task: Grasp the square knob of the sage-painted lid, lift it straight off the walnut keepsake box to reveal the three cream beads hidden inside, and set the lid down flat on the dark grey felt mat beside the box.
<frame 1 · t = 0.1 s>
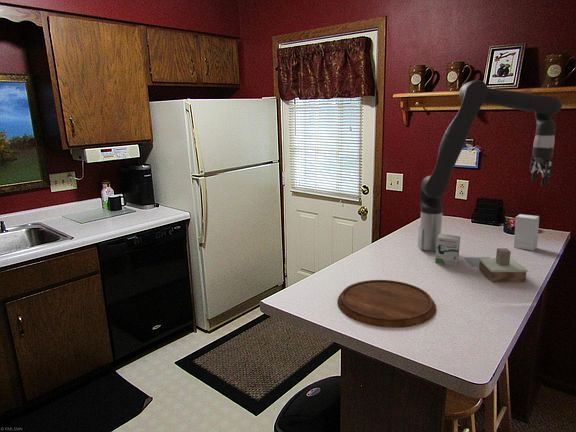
hand: (538, 183, 180), 29 cm above the kitchen island, fingers open, 8 cm apart
bead a: (496, 278, 155), point 1 cm above the kitchen island, touching keepsake box
bead c: (499, 272, 159), point 1 cm above the kitchen island, touching keepsake box
bead b: (511, 278, 154), point 1 cm above the kitchen island, touching keepsake box
felt mat: (481, 263, 171), on the kitchen island
skincare box: (524, 248, 188), on the kitchen island
cutting board: (385, 305, 139), on the kitchen island
ink box: (446, 264, 172), on the kitchen island
lid: (502, 265, 156), point 4 cm above the kitchen island, touching keepsake box
keepsake box: (500, 277, 157), on the kitchen island
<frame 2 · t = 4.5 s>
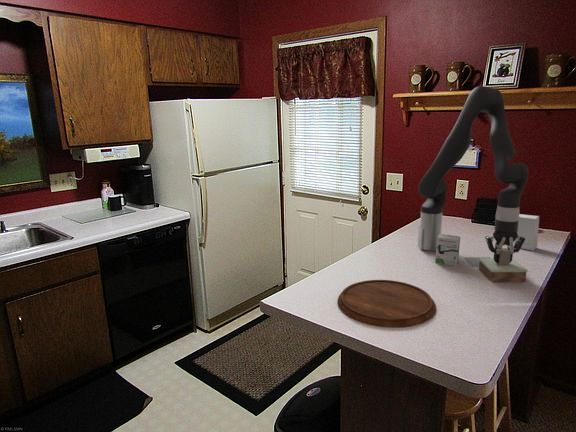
hand: (502, 262, 155), 6 cm above the kitchen island, fingers closed on lid, 3 cm apart
lid: (502, 265, 156), point 5 cm above the kitchen island, touching gripper, keepsake box
everything else where it was.
when the fingers open (3 cm above the kitchen island, at t = 9.2 s): lid drops 1 cm, resting on felt mat.
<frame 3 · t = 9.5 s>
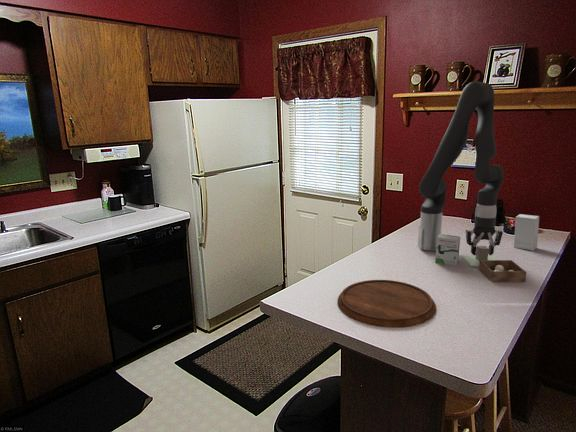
hand: (481, 254, 170), 4 cm above the kitchen island, fingers open, 6 cm apart
lid: (481, 261, 171), point 1 cm above the kitchen island, touching felt mat
everything else where it was.
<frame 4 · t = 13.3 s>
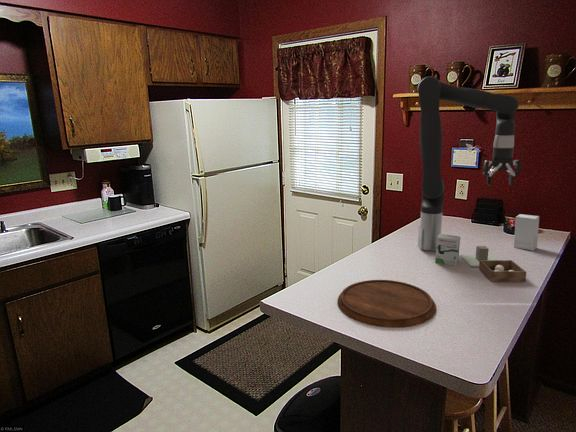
hand: (499, 184, 176), 30 cm above the kitchen island, fingers open, 8 cm apart
nothing on the kitchen island moved.
at the end: lid inside the target area on the felt mat (0.0 cm from its centre), point 0.6 cm above the felt mat's base; lid tilted 0°; lid touching felt mat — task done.
